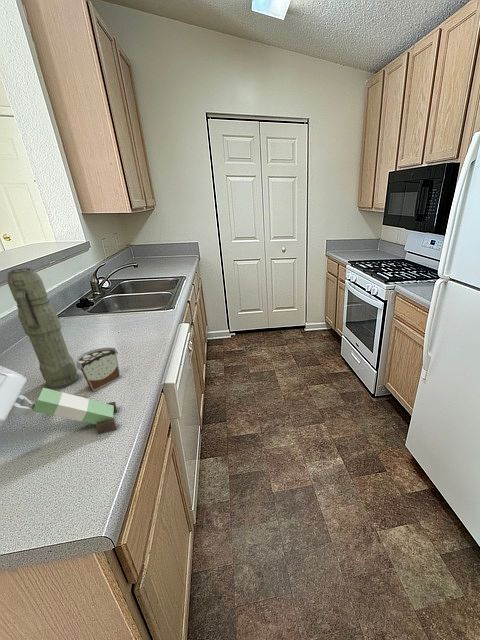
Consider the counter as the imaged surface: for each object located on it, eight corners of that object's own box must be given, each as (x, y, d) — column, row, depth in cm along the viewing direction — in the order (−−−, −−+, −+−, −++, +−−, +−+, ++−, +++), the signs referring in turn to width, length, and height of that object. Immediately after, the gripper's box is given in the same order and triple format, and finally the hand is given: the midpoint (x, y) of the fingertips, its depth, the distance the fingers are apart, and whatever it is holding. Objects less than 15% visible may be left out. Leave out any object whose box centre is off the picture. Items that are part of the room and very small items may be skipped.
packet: (32, 411, 75) (37, 399, 75) (38, 398, 80) (43, 387, 80) (108, 427, 84) (113, 417, 84) (109, 414, 89) (113, 405, 89)
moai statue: (42, 393, 99) (-8, 275, 84) (50, 376, 109) (7, 267, 93) (76, 386, 102) (34, 272, 87) (81, 370, 112) (44, 265, 97)
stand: (98, 434, 82) (95, 425, 81) (101, 412, 90) (98, 405, 89) (116, 429, 83) (114, 421, 82) (117, 408, 92) (115, 401, 90)
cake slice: (111, 371, 111) (103, 344, 107) (124, 375, 109) (116, 347, 104) (75, 389, 101) (65, 359, 97) (88, 393, 99) (78, 363, 94)
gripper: (-50, 397, 61) (34, 425, 69) (-12, 355, 78) (52, 381, 86) (-69, 423, 62) (16, 448, 70) (-27, 375, 78) (37, 400, 86)
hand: (36, 411), depth 78 cm, fingers closed
